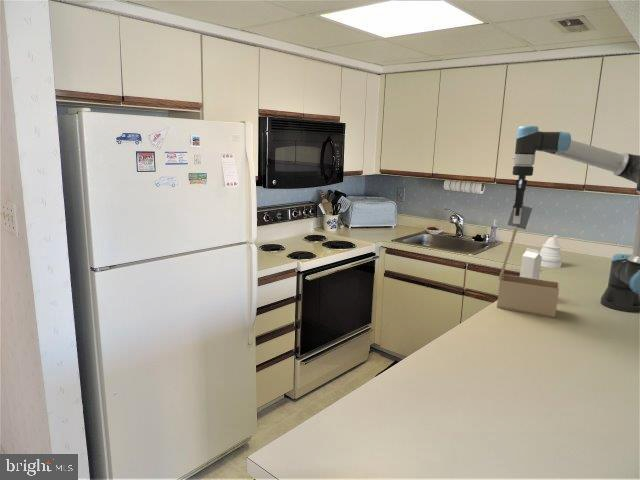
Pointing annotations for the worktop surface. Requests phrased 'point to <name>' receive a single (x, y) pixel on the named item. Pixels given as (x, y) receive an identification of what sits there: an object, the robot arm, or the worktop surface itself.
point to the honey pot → (551, 253)
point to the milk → (531, 264)
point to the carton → (528, 295)
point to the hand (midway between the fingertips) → (516, 223)
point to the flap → (523, 223)
